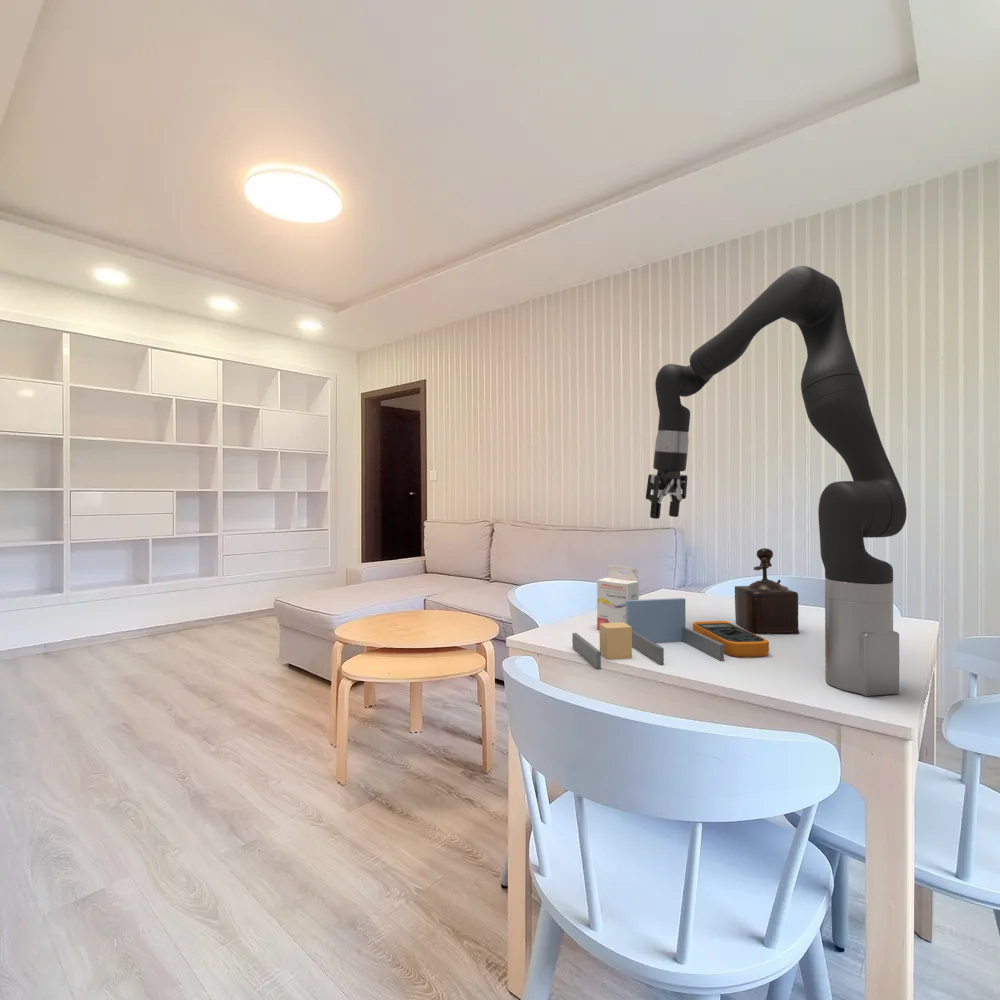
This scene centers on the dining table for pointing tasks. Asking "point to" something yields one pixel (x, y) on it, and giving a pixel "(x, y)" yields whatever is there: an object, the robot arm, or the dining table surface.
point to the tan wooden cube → (615, 640)
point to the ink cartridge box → (616, 594)
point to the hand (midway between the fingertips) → (664, 517)
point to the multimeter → (733, 638)
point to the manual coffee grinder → (766, 603)
